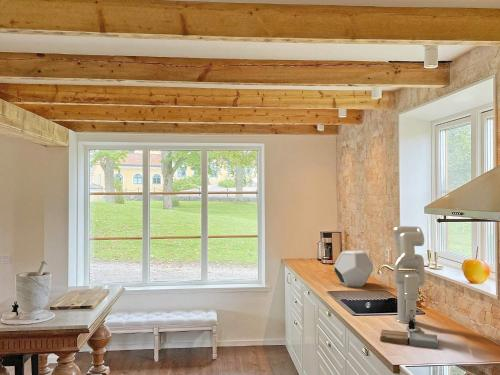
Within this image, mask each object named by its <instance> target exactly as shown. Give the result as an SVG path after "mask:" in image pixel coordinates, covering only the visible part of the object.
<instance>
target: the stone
mask: <svg viewBox="0 0 500 375" xmlns="http://www.w3.org/2000/svg"><path fill="white" fill-rule="evenodd" d="M405 329H406V330H407V332H409V333H410V332H411V333H422V334H426V333H425V331H424V330H422V328H420V327H419V326H416V325H415V329H409V325H407V326H406V327H405Z"/></svg>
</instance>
